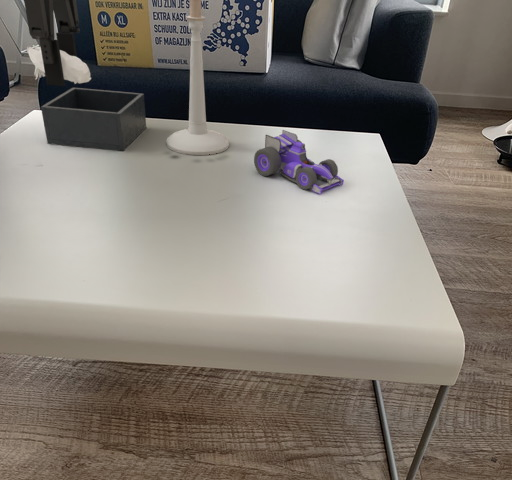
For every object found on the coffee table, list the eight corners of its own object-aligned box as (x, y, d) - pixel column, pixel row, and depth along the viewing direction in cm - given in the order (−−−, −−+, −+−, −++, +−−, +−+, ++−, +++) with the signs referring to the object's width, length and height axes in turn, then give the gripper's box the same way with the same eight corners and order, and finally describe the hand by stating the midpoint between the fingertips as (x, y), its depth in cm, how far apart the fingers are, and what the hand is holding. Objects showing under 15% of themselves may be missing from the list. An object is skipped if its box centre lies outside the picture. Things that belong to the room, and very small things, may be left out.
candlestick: (233, 137, 117) (237, -31, 98) (222, 158, 107) (224, -26, 88) (175, 132, 118) (168, -36, 99) (158, 151, 108) (147, -31, 89)
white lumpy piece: (30, 91, 89) (83, 81, 87) (17, 45, 87) (71, 33, 84) (47, 91, 94) (98, 81, 91) (35, 47, 91) (88, 36, 88)
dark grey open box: (47, 143, 108) (40, 106, 104) (77, 121, 121) (72, 87, 116) (123, 151, 107) (119, 113, 103) (146, 127, 119) (143, 93, 115)
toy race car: (315, 197, 94) (319, 159, 90) (252, 172, 102) (254, 136, 98) (347, 183, 99) (353, 147, 95) (286, 160, 107) (289, 126, 103)
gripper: (31, -100, 68) (61, 96, 83) (87, -96, 83) (105, 71, 97) (-26, -104, 69) (15, 92, 83) (40, -99, 83) (65, 67, 98)
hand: (63, 80), depth 90 cm, fingers closed on white lumpy piece, 5 cm apart
